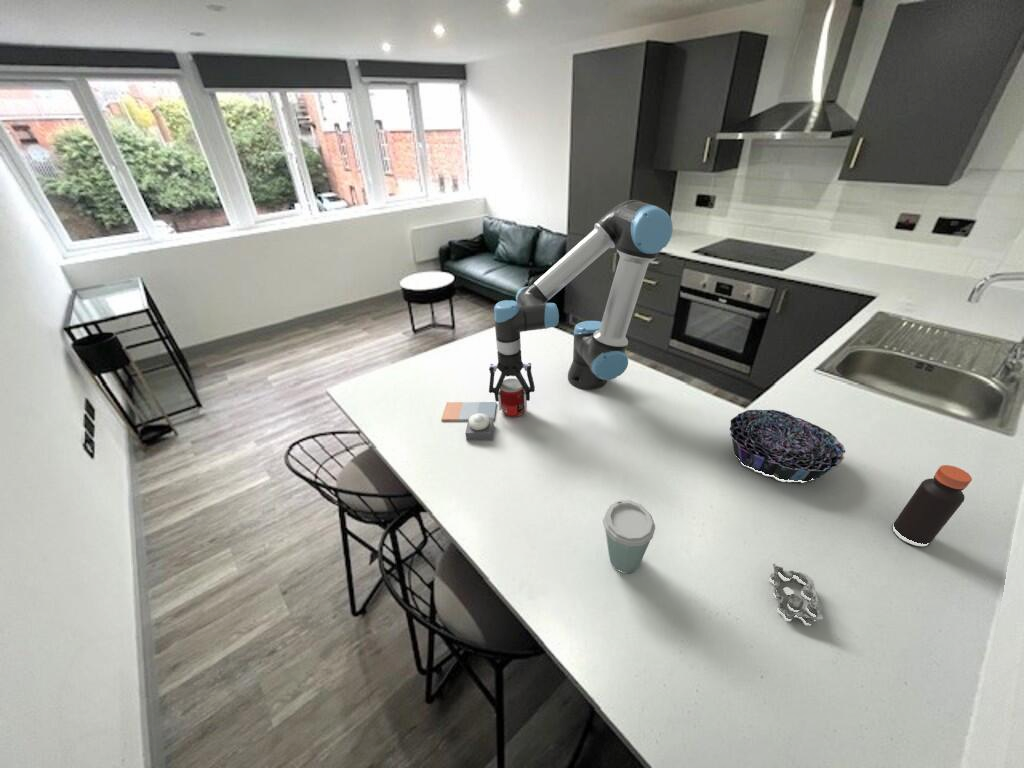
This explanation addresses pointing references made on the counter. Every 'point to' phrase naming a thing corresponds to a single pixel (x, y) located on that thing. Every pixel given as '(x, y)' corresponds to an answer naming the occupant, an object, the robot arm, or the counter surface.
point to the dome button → (479, 421)
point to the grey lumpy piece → (795, 600)
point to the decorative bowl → (784, 445)
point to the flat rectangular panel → (467, 410)
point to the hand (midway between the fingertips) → (513, 407)
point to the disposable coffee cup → (627, 534)
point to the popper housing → (480, 432)
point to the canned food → (512, 397)
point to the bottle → (933, 504)
